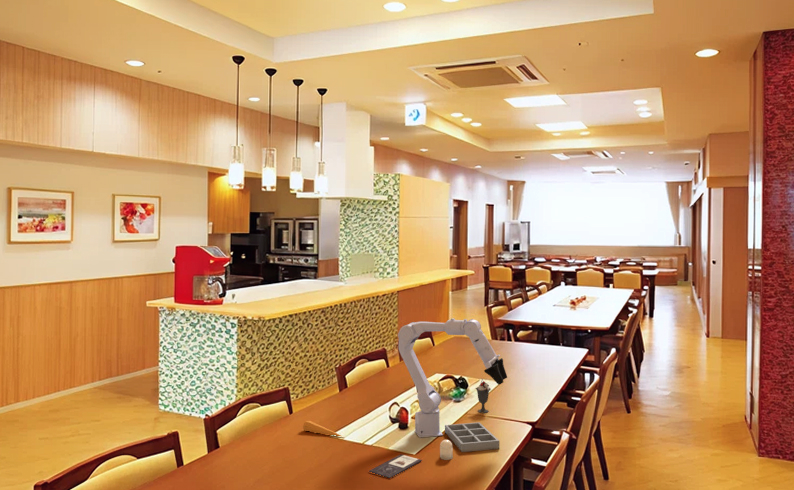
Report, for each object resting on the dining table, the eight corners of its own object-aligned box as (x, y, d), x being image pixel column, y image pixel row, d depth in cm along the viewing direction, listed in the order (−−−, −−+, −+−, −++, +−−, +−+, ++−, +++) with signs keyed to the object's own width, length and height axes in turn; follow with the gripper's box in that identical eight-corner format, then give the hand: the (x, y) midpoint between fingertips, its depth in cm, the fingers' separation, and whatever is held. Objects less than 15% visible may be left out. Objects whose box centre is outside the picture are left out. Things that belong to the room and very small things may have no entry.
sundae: (479, 414, 254) (479, 380, 254) (473, 409, 260) (473, 376, 260) (493, 412, 256) (493, 378, 255) (486, 408, 262) (486, 375, 262)
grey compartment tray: (461, 452, 211) (461, 443, 210) (444, 432, 231) (444, 425, 231) (499, 448, 213) (499, 440, 213) (479, 429, 234) (479, 422, 234)
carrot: (302, 433, 235) (300, 424, 233) (308, 426, 239) (307, 417, 237) (343, 446, 225) (341, 437, 224) (349, 438, 229) (348, 429, 227)
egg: (442, 460, 203) (441, 442, 203) (438, 455, 208) (438, 438, 207) (454, 459, 204) (454, 441, 204) (450, 454, 208) (450, 437, 208)
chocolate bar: (368, 471, 193) (400, 454, 208) (368, 473, 193) (400, 456, 208) (390, 477, 188) (421, 460, 202) (390, 480, 188) (421, 462, 202)
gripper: (489, 347, 214) (508, 380, 211) (497, 340, 227) (515, 372, 225) (473, 356, 216) (492, 389, 214) (481, 349, 229) (499, 380, 227)
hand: (503, 381), depth 219 cm, fingers open, 7 cm apart
